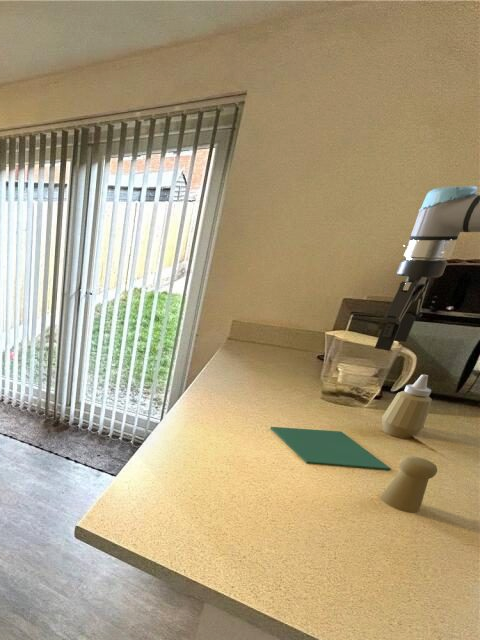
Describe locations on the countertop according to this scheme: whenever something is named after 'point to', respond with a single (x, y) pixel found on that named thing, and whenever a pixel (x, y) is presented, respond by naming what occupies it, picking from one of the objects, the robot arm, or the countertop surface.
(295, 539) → the countertop surface
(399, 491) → the cork
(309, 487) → the countertop surface
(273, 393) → the countertop surface
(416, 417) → the squeeze bottle
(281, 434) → the mat
